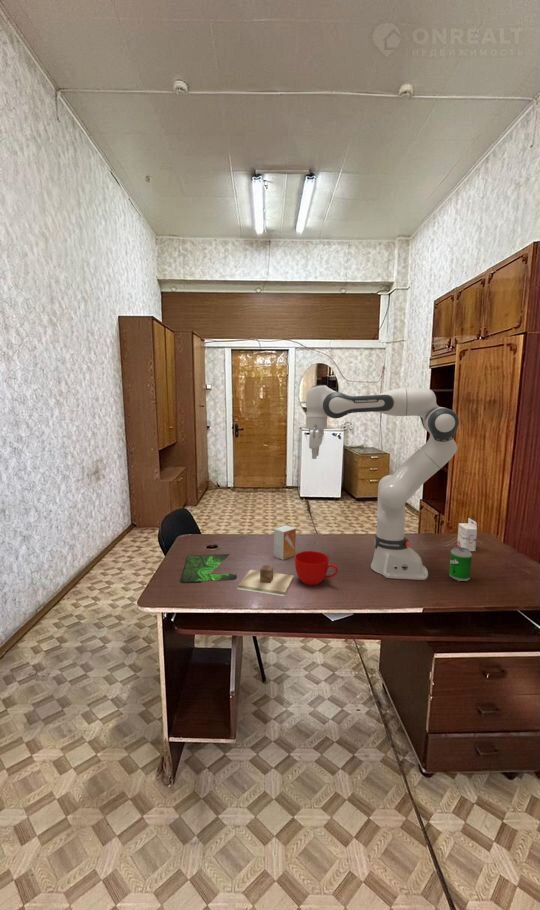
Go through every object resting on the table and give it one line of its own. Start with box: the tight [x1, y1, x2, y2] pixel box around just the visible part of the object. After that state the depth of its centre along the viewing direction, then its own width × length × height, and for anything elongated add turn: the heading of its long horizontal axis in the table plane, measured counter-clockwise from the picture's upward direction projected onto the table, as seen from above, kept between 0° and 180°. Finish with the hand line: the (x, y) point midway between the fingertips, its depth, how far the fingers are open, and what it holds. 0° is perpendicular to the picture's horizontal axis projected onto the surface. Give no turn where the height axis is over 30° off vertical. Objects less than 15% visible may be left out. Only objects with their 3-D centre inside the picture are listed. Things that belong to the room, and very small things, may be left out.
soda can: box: [448, 546, 473, 582], centre depth 150 cm, size 8×8×12 cm
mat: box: [236, 587, 286, 597], centre depth 145 cm, size 18×16×1 cm
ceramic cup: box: [294, 550, 339, 586], centre depth 145 cm, size 13×17×10 cm
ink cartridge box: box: [456, 517, 478, 552], centre depth 181 cm, size 9×5×15 cm, turn 179°
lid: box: [237, 564, 295, 596], centre depth 145 cm, size 18×14×6 cm
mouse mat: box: [179, 553, 238, 584], centre depth 159 cm, size 27×22×1 cm
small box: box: [273, 524, 297, 561], centre depth 171 cm, size 8×6×13 cm
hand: (315, 457), depth 160 cm, fingers open, 8 cm apart
